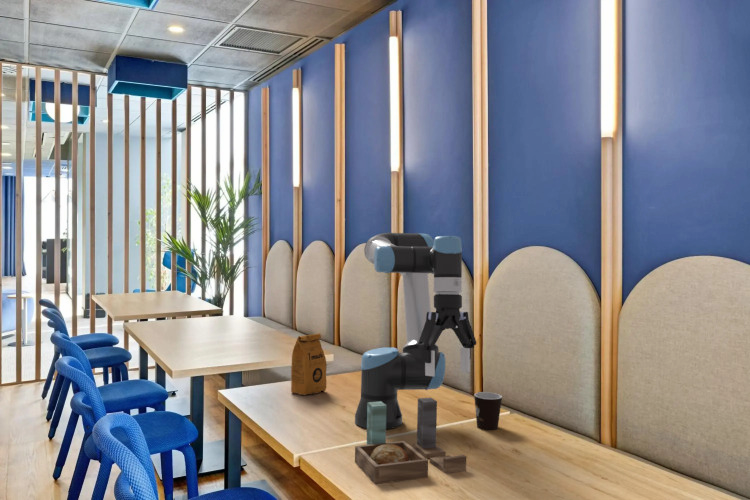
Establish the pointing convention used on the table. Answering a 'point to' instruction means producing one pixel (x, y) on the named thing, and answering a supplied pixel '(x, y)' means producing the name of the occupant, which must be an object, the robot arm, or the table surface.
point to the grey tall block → (427, 429)
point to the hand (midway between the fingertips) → (448, 374)
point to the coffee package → (308, 366)
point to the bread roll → (388, 454)
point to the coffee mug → (487, 410)
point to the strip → (449, 463)
